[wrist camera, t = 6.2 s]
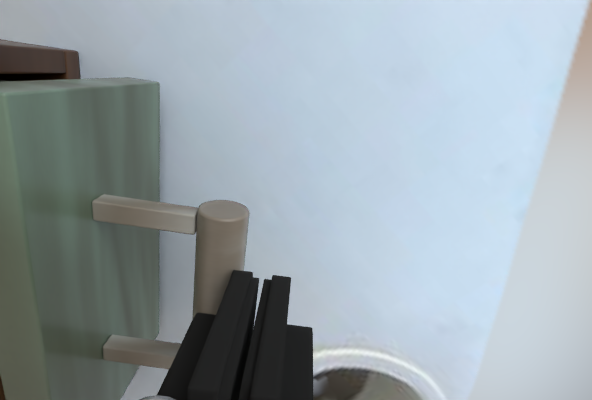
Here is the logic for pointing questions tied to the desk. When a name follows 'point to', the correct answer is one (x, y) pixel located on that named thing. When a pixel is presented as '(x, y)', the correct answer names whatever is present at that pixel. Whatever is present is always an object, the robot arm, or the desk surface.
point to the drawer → (92, 238)
